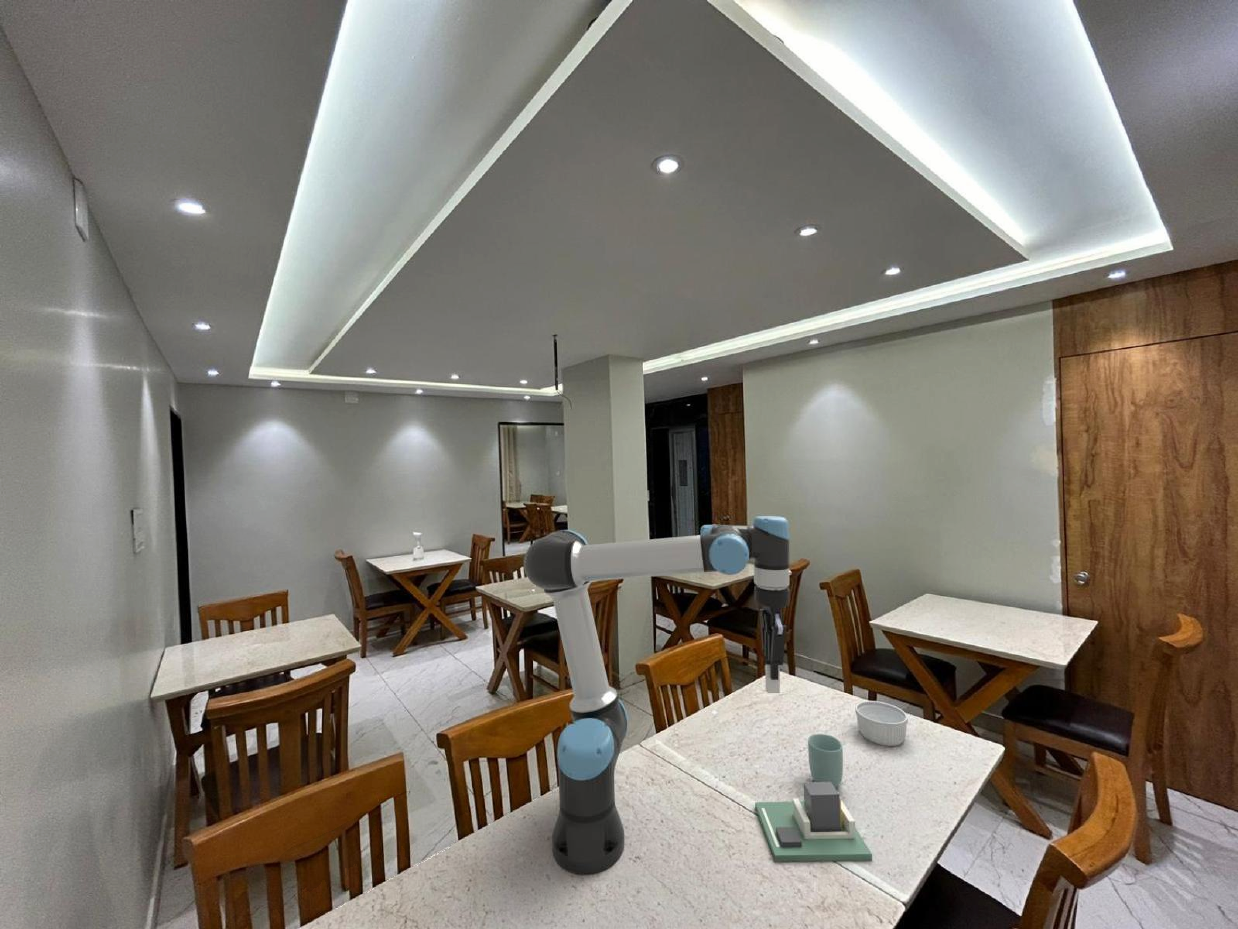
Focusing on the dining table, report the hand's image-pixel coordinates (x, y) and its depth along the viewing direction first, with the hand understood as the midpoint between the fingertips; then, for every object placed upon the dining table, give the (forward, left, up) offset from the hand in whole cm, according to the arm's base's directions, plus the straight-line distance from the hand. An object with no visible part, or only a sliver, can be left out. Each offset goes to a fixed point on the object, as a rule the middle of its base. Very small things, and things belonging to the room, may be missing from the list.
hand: (772, 691), depth 106 cm
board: (+6, -4, -28) cm, 29 cm away
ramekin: (+40, +31, -28) cm, 58 cm away
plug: (+8, -4, -27) cm, 28 cm away
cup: (+16, +11, -28) cm, 34 cm away
